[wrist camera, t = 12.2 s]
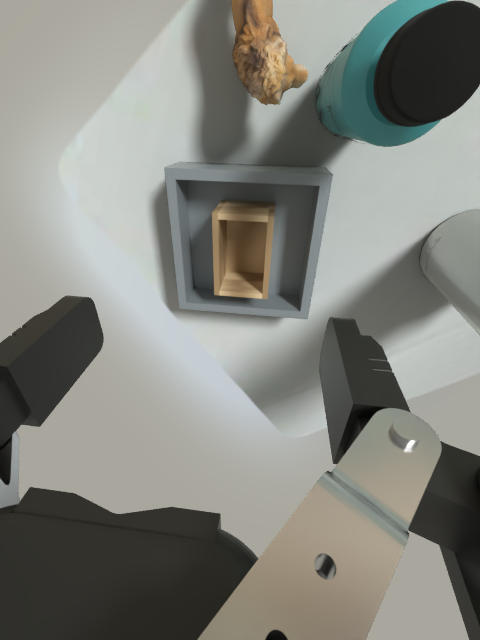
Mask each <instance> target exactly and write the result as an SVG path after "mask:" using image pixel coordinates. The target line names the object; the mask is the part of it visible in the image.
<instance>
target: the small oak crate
mask: <svg viewBox="0 0 480 640" xmlns="http://www.w3.org/2000/svg"><path fill="white" fill-rule="evenodd" d="M274 214H275V202H262V201H242V200H221V202H220V203H219V204H218V206H217V207H216V208H215V209H214V211H213V212H212V235H213V269H214V295H220V296H233V297H246V298H259V299H268V287H269V275H270V263H271V251H272V239H273V226H274Z"/></svg>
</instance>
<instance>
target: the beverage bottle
mask: <svg viewBox="0 0 480 640" xmlns="http://www.w3.org/2000/svg"><path fill="white" fill-rule="evenodd" d="M356 35H357V34H356ZM353 37H354V36H353ZM352 39H353V38H352ZM347 45H348V44H347ZM347 45H346V46H345V45H344V46H345V47H344V48H343V47H342V48H343V49H342V50H341V51H342V52H341V51H340V52H341V53H340V52H339V53H340V54H339V55H338V57H336V59H335V60H334V61H333V62H332V63H331V64H330V63H329V64H330V65H329V64H328V65H327V67H328V68H327V67H326V68H327V69H326V68H325V69H326V71H325V73H324V74H323V76H322V79H321V78H320V79H319V80H321V81H320V84H318V91H317V97H316V102H317V106H316V108H317V110H316V111H318V112H317V113H318V114H319V117H320V118H319V117H318V118H319V119H320V121H321V123H323V124H324V126H325V127H326V128H327V129H328V130H329V131H330V132H333V133H335V134H337V135H341V136H345V138H346V137H349V138H351V139H357V140H361V141H365V142H368V143H370V144H373V145H376V146H383V147H391V146H398V145H402V144H406V143H408V142H411V141H413V140H415V139H417V138H419V137H421V136H422V135H424V134H425V133H427V132H428V131H429V130H431V129H432V128H433V127H434V126H435V125H436V124H437V123H438V122H439V121H440V120H441V119H443V118H445V117H447V116H449V115H451V114H452V113H453V112H455V111H456V110H458V109H459V108H460V107H461V106H462V105H463V104H464V103H465V102H466V101H467V100H468V99H469V98H470V97H471V96H472V95H473V93H474V92H475V91H476V89H477V88H478V87H479V85H480V8H479V7H478V6H476V5H474V4H472V3H469V2H465V1H447V0H397V1H395V2H394V3H392V4H390V5H388V6H387V7H386V8H384V9H383V10H381V11H380V12H379V13H378V14H377V15H376V16H375V17H373V18H372V19H371V21H370V22H369V23H368V24H367V25H366V26H365V27H364V29H363V30H362V31H361V33H360V34H359V35H358V36H357V37H356V38H355V39H354V40H353V41H352V42H351V41H350V44H349V45H348V46H347ZM337 54H338V53H337ZM337 54H336V56H337ZM332 60H333V59H332ZM318 82H319V81H318ZM316 89H317V88H316ZM315 95H316V94H315ZM316 102H315V103H316ZM318 114H317V115H318ZM325 130H326V129H325ZM330 134H331V133H330ZM333 135H334V134H333ZM337 135H334V136H337ZM338 137H339V136H338ZM340 138H342V137H340ZM351 141H352V140H351ZM354 141H355V140H354ZM356 142H357V141H356ZM358 143H359V142H358ZM361 144H362V143H361ZM363 144H364V143H363Z"/></svg>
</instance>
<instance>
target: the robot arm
mask: <svg viewBox="0 0 480 640" xmlns="http://www.w3.org/2000/svg"><path fill="white" fill-rule="evenodd" d="M420 265H421V269H422V271H423V273H424V275H425V276H426V277H427V279H428V280H429V281H430V282H431V283H432V284H433V285H434V286H435V287H436V288H437V289H438V291H439V292H440V293H441V294H442V295H443V296H444V297H445V298H446V299H447V300H448V301H449V303H450V304H451V305H452V306H453V307H454V308H455V309H456V310H457V311H458V312H459V313H460V314H461V316H462V317H463V318H464V319H465V320H466V321H467V322H468V323H469V324H470V325H471V326H472V327H473V329H474V330H475V331H476V332H477V333H478V334H479V335H480V210H471V211H466V212H463V213H460V214H457V215H455V216H453V217H451V218H449V219H448V220H446V221H445V222H443V223H442V224H440V225H439V226H438V227H437V228H436V229H435V230H434V231H433V232H432V233H431V234H430V236H429V237H428V239H427V240H426V242H425V244H424V246H423V248H422V251H421V255H420ZM102 345H103V332H102V328H101V325H100V321H99V318H98V314H97V311H96V307H95V304H94V302H93V300H92V299H91V298H89V297H77V296H65V297H63V298H62V299H61V300H59V301H58V302H57V303H56V304H54V305H53V306H52V307H51V308H49V309H48V310H46V311H44V312H42V313H40V314H38V315H36V316H34V317H33V318H31V319H30V320H29V321H28V322H26V323H25V324H24V325H23V326H22V328H19V329H17V330H16V331H15V332H14V333H12V336H9V337H7V338H6V339H5V340H3V341H2V342H1V343H0V640H366V638H367V636H368V633H369V631H370V628H371V626H372V624H373V622H374V619H375V617H376V614H377V612H378V610H379V607H380V605H381V603H382V600H383V598H384V595H385V593H386V591H387V589H388V586H389V584H390V582H391V579H392V577H393V575H394V572H395V570H396V568H397V565H398V563H399V561H400V558H401V556H402V553H403V551H404V549H405V546H406V544H407V541H408V537H409V533H408V532H407V531H408V530H409V531H411V532H413V533H415V534H417V535H419V536H422V537H424V538H426V539H428V540H430V541H432V542H434V543H436V544H439V545H440V549H441V552H442V555H443V558H444V561H445V564H446V567H447V570H448V574H449V577H450V580H451V583H452V586H453V590H454V593H455V596H456V599H457V602H458V605H459V608H460V612H461V615H462V618H463V621H464V624H465V627H466V631H467V634H468V637H469V640H480V456H478V455H475V454H472V453H469V452H467V451H464V450H461V449H458V448H456V447H453V446H450V445H448V444H445V443H443V442H442V441H440V439H439V437H438V435H437V434H436V432H435V431H434V430H433V429H432V427H431V426H430V425H429V424H428V423H427V422H425V421H424V420H423V419H421V418H420V417H418V416H416V415H414V414H412V413H411V412H410V410H409V407H408V405H407V403H406V401H405V398H404V396H403V394H402V391H401V389H400V387H399V385H398V382H397V380H396V378H395V376H394V373H393V372H392V369H391V366H390V364H389V362H387V357H386V355H385V353H384V351H383V348H382V347H381V346H380V345H379V344H378V343H377V342H376V341H375V340H374V339H373V338H372V337H371V336H362V335H360V332H359V329H358V327H357V324H356V321H355V320H354V319H345V318H333V317H330V318H329V320H328V323H327V328H326V332H325V337H324V341H323V346H322V350H321V355H320V367H319V368H320V378H321V385H322V392H323V399H324V405H325V412H326V419H327V426H328V433H329V439H330V446H331V453H332V460H333V464H337V465H336V467H335V468H334V469H333V470H332V472H329V471H327V472H325V473H324V474H323V475H322V476H321V477H320V479H319V480H318V481H317V482H316V484H315V485H314V486H313V488H312V489H311V490H310V491H309V493H308V494H307V495H306V497H305V498H304V499H303V501H302V502H301V503H300V505H299V506H298V507H297V509H296V510H295V511H294V513H293V514H292V515H291V517H290V518H289V519H288V521H287V522H286V523H285V525H284V526H283V527H282V529H281V530H280V531H279V532H278V534H277V535H276V536H275V538H274V539H273V540H272V542H271V543H270V544H269V546H268V547H267V548H266V550H265V551H264V552H263V554H262V555H261V556H260V558H258V557H257V556H256V555H255V554H254V553H253V552H252V551H251V550H250V549H249V548H248V547H247V546H246V545H245V544H244V543H243V542H242V541H240V540H239V539H237V538H236V537H234V536H233V535H231V534H229V533H228V532H225V531H224V530H222V529H221V520H220V519H221V518H220V514H218V513H211V512H204V511H197V510H190V509H182V508H175V507H168V508H161V509H154V510H147V511H139V512H133V513H125V514H115V513H112V512H110V511H108V510H106V509H104V508H102V507H100V506H98V505H96V504H94V503H92V502H90V501H89V500H87V499H85V498H83V497H81V496H79V495H77V494H74V493H68V492H61V491H54V490H47V489H40V488H33V487H30V488H29V490H28V491H27V492H26V494H25V495H24V497H23V498H22V499H21V501H20V498H19V492H18V484H19V435H18V433H17V432H16V430H17V429H18V428H19V427H20V425H30V426H38V427H40V426H41V424H42V423H43V422H44V421H45V419H46V418H47V417H48V416H49V415H50V413H51V412H52V411H53V410H54V408H55V407H56V406H57V404H58V403H59V402H60V401H61V400H62V398H63V397H64V396H65V394H66V393H67V392H68V391H69V390H70V388H71V387H72V386H73V384H74V383H75V382H76V381H77V379H78V378H79V377H80V375H81V374H82V373H83V372H84V371H85V369H86V368H87V367H88V366H89V364H90V363H91V362H92V361H93V359H94V358H95V357H96V356H97V354H98V353H99V352H100V350H101V348H102Z"/></svg>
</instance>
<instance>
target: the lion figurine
mask: <svg viewBox="0 0 480 640" xmlns="http://www.w3.org/2000/svg"><path fill="white" fill-rule="evenodd" d="M232 12H233V20H234V25H235V30H236V36H235V45H234V49H233V59H234V65H235V67H236V68H237V72H238V77H239V78H240V79H241V81H242V83H243V85H244V87H246V89H247V91H248V92H249V93H250V94H251V96H252V97H254V98H257V100H259V101H260V102H261V103H263V104H265V105H267V104H274V105H275V104H280V100H281V98H282V95H283V93H284V92H285V91H286V90H288V89H290V88H299V87H301V86H302V84H303V83H304V82H305V81H306V80H307V77H308V70H307V69H306V68H304V66H303V65H300V64H294V61H293V59H292V57H290V56H289V55H288V53H287V49H286V46H287V45H286V42H284V41H283V40H282V37H281V35H280V34H279V29H278V26H277V24H276V22H275V21H274V20H273V18H272V13H273V3H272V0H232Z"/></svg>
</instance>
